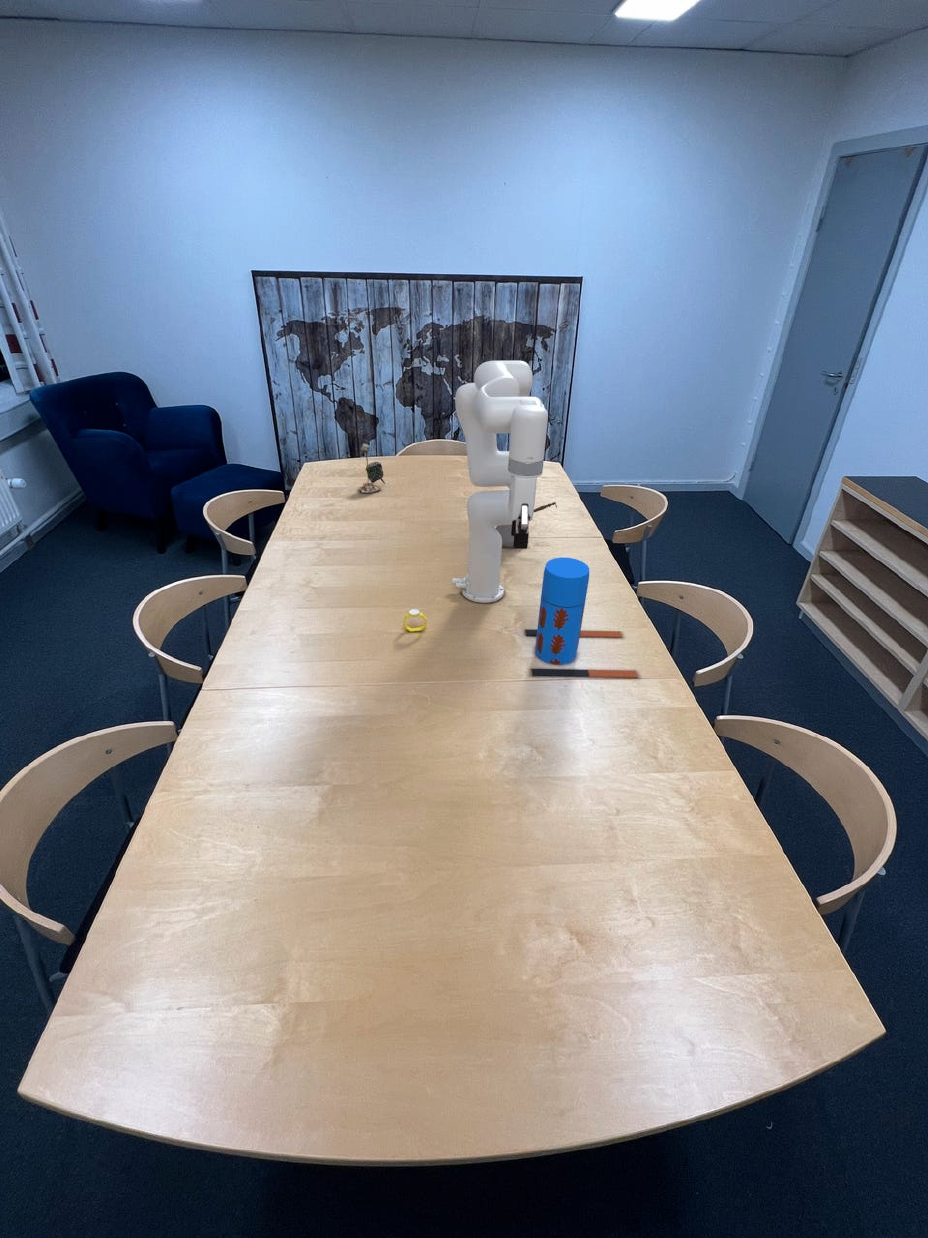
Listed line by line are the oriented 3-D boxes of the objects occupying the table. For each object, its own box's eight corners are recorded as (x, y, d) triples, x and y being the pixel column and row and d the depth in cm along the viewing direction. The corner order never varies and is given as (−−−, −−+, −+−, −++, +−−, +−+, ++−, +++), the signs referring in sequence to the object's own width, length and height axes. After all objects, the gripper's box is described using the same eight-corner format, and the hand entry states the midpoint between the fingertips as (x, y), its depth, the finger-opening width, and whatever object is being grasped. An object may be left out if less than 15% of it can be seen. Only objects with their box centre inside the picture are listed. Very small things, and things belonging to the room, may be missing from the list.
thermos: (575, 668, 154) (589, 581, 140) (532, 661, 155) (542, 575, 142) (577, 643, 163) (590, 559, 149) (537, 638, 164) (546, 554, 151)
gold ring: (426, 627, 167) (425, 608, 164) (426, 632, 165) (426, 614, 162) (403, 627, 167) (403, 609, 163) (404, 633, 164) (403, 614, 161)
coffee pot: (494, 550, 208) (497, 509, 200) (490, 535, 217) (492, 495, 209) (556, 549, 210) (561, 508, 202) (549, 535, 219) (554, 495, 211)
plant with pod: (386, 493, 248) (384, 444, 238) (357, 494, 247) (354, 444, 236) (385, 486, 255) (383, 438, 244) (357, 486, 254) (354, 438, 243)
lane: (532, 676, 150) (532, 674, 150) (525, 630, 167) (525, 629, 167) (637, 678, 151) (638, 676, 151) (619, 632, 168) (620, 631, 168)
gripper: (505, 452, 139) (500, 526, 149) (510, 479, 125) (505, 558, 134) (538, 453, 139) (531, 526, 149) (547, 480, 125) (539, 559, 135)
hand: (519, 541), depth 142 cm, fingers open, 5 cm apart
